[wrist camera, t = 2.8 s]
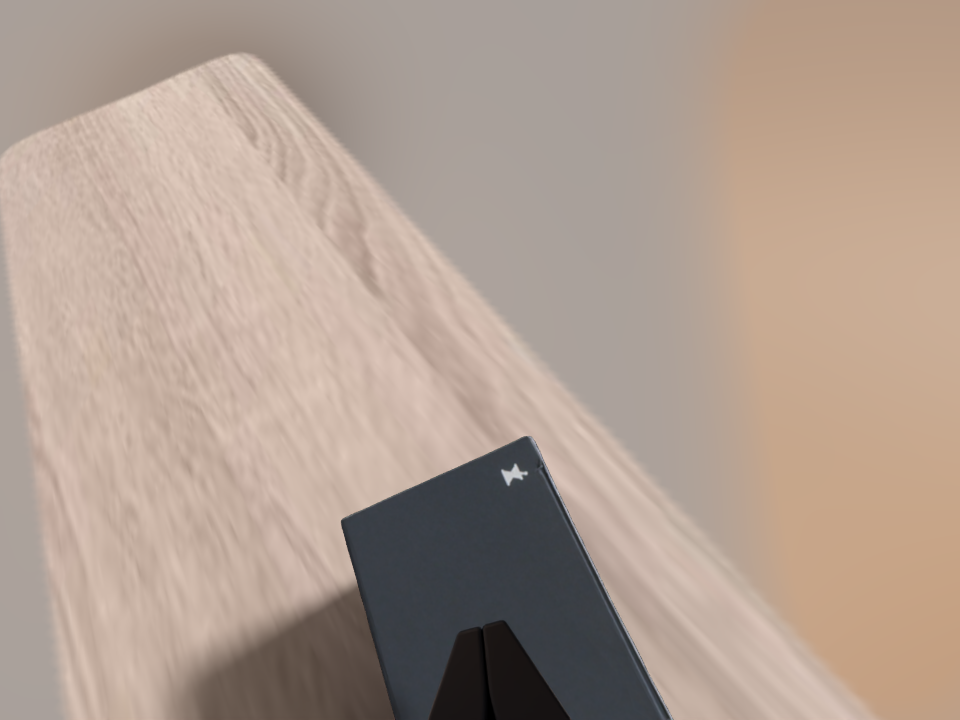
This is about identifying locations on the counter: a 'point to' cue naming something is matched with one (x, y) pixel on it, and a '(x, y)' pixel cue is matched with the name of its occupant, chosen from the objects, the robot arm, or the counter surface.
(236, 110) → the counter surface
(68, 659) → the counter surface
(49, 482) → the counter surface
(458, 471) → the box
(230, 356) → the counter surface
